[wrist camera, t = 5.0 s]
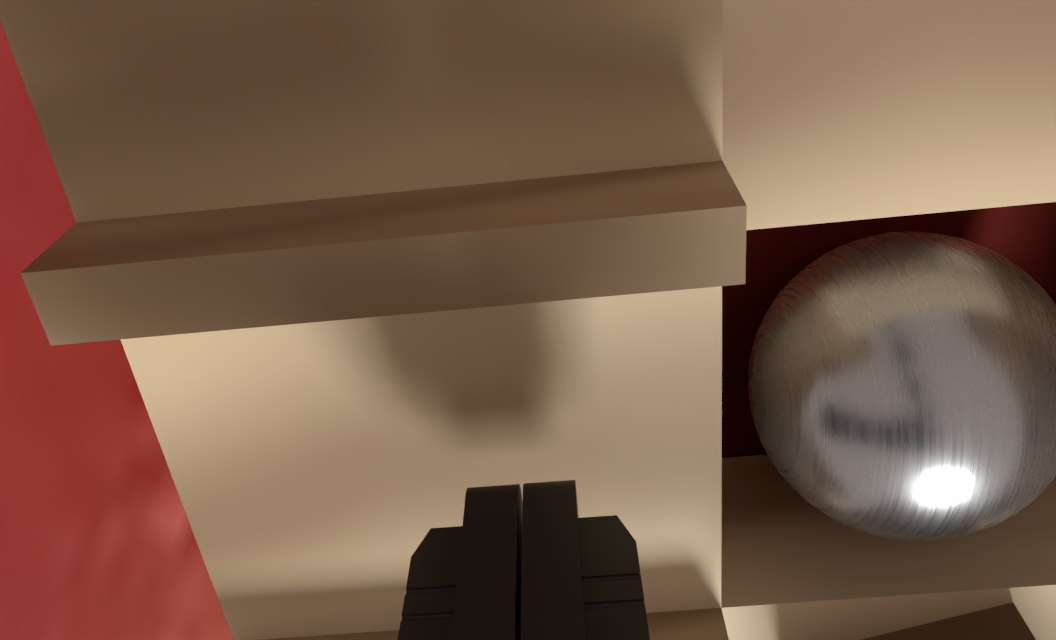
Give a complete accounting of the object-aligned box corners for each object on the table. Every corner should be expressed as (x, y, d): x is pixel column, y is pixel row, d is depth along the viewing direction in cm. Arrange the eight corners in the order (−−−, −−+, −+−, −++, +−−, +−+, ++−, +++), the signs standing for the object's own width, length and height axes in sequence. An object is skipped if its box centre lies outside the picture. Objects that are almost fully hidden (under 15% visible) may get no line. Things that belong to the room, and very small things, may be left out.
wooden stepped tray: (90, -168, 13) (-289, -151, 7) (1373, -323, 12) (2204, -454, 6) (340, 666, 22) (266, 993, 16) (1100, 615, 21) (1331, 943, 15)
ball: (826, 351, 11) (1211, 305, 12) (716, 202, 16) (996, 171, 16) (798, 630, 14) (1116, 589, 14) (710, 434, 18) (953, 404, 18)
